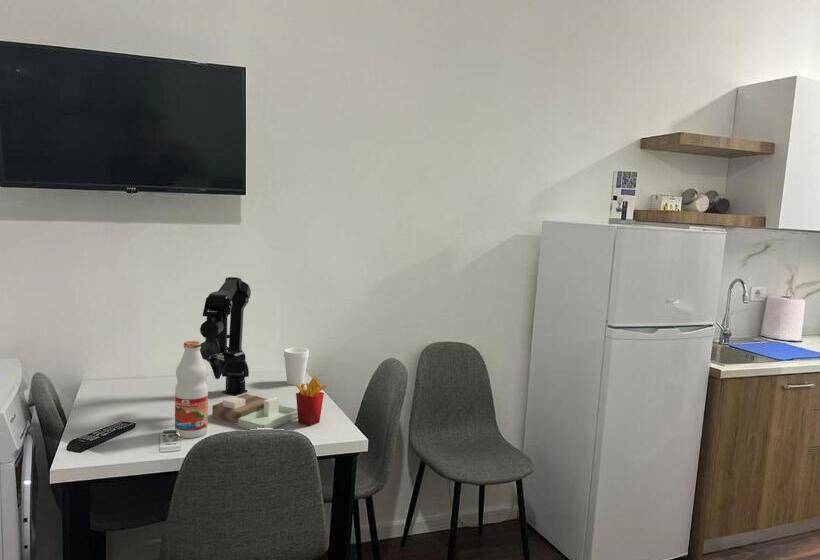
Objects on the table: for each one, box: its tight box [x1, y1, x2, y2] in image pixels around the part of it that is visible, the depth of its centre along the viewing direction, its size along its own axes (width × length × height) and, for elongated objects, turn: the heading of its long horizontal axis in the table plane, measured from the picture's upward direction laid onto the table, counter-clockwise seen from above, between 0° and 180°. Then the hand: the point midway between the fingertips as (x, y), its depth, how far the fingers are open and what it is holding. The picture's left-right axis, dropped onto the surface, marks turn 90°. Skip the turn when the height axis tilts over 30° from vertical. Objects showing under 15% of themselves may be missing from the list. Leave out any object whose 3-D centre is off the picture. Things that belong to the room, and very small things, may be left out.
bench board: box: [211, 393, 268, 425], centre depth 219 cm, size 12×16×4 cm
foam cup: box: [283, 347, 310, 386], centre depth 258 cm, size 10×9×13 cm
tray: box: [237, 403, 298, 430], centre depth 214 cm, size 11×19×2 cm, turn 153°
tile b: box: [222, 395, 245, 409], centre depth 215 cm, size 5×5×2 cm
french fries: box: [295, 377, 328, 427], centre depth 214 cm, size 9×8×15 cm
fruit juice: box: [174, 340, 209, 439], centre depth 198 cm, size 9×9×28 cm
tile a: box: [264, 396, 280, 417], centre depth 219 cm, size 5×5×2 cm
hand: (217, 378), depth 218 cm, fingers closed
